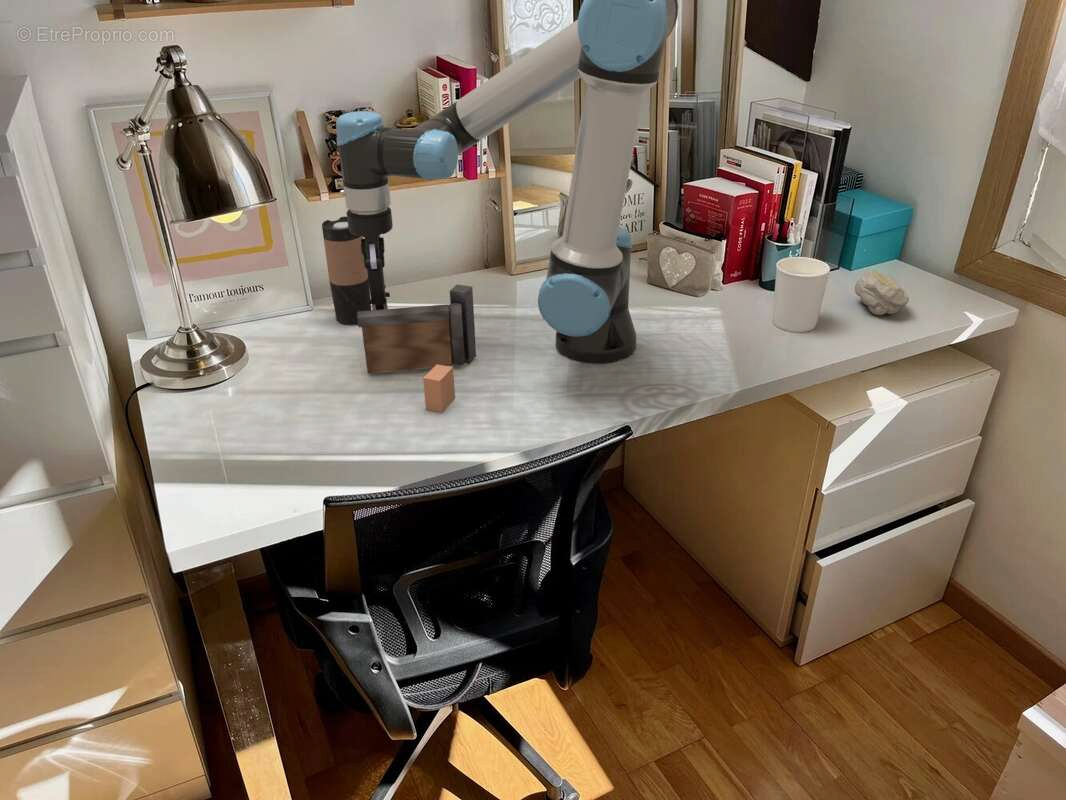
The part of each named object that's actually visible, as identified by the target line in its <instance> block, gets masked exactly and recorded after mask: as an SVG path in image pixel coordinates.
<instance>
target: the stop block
mask: <svg viewBox="0 0 1066 800" xmlns="http://www.w3.org/2000/svg"><path fill="white" fill-rule="evenodd" d="M454 375H455V374H454V366H444V365H438V364H437V365H436V366H435V367H433V368H431V369H430V371H428V372H427V374H425V375H424V376H423V377H422V382H423V392H424V401H425V402H424V404H425V410H426V411H433V412H436V413H443V412H444V411H445V410H446V409H447V408H448V407H449V406H450V405H451V404H452V402H454V401H455V399H456V390H455V389H456V387H455V376H454Z"/></svg>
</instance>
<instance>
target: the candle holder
mask: <svg viewBox="0 0 1066 800" xmlns="http://www.w3.org/2000/svg"><path fill="white" fill-rule="evenodd" d="M775 265H776V266H775V268H776V269H775V281H774V282H775V284H774V295H773V297H774V298H773V309H772V311H773V312H772V322H773V324H774V326H776V327H777V328H779V329H781V330H783V331H787V332H791V333H806V332H807V333H808V332H811V331H813V330H815V328H816V327H817V324H818V320H819V317H820V312H821V307H822V304H823V300H824V295H825V290H826V287H827V283H828V279H829V274H830V271H831V267H830V265H829V264H827V263H826V262H824V261H822V260H821V259H820V260H819V259H816V258H812V257H805V256H790V257H789V256H788V257H785V258H782V259H779V260H778V261H777V262H776V264H775Z"/></svg>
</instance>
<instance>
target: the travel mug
mask: <svg viewBox="0 0 1066 800" xmlns="http://www.w3.org/2000/svg"><path fill="white" fill-rule="evenodd" d="M321 229H322V230H321V231H322V236H323V242H324V251H325V252H324V253H325V257H326V267H327V274H328V279H329V286H330V292H331V296H332V297H331V298H332V304H333V307H334V313H335V314H334V315H335V319H336V321H337V323H339V324H341V325H345V326H356V325H357V326H358V320H357V312H359V311H371V310H372V304H368V300H370V299H371V294H370V287H369V279H368V272H367V269H366V268H365V264H364V256H363V254H362V252H361V239H364V237H363V236H357V235H354V234H352V233H351V232H350V231H349V229H348V221H347V216H341V217H339V218H338V219H336V220H330V219H326V220H325V221H323V222H322V224H321Z"/></svg>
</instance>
